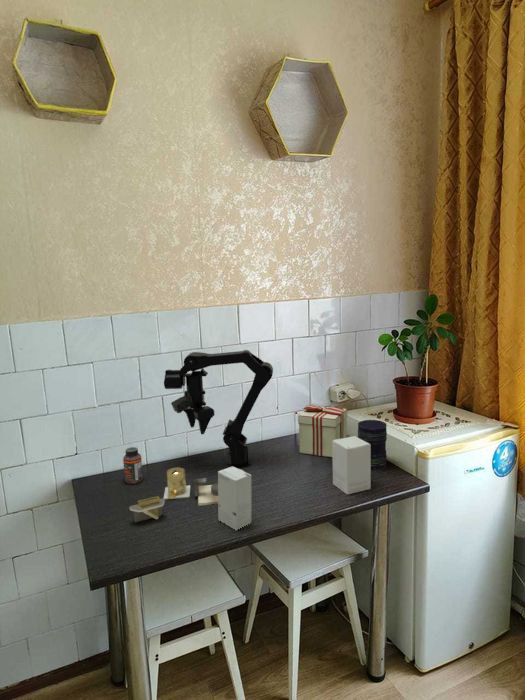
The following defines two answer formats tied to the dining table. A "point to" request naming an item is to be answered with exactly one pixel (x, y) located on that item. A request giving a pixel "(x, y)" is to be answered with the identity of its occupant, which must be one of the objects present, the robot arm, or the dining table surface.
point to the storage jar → (374, 441)
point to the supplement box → (351, 464)
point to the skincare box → (234, 497)
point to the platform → (148, 509)
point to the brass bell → (176, 482)
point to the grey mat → (185, 495)
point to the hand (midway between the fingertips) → (197, 430)
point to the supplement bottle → (132, 466)
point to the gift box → (321, 429)
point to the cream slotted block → (206, 492)
